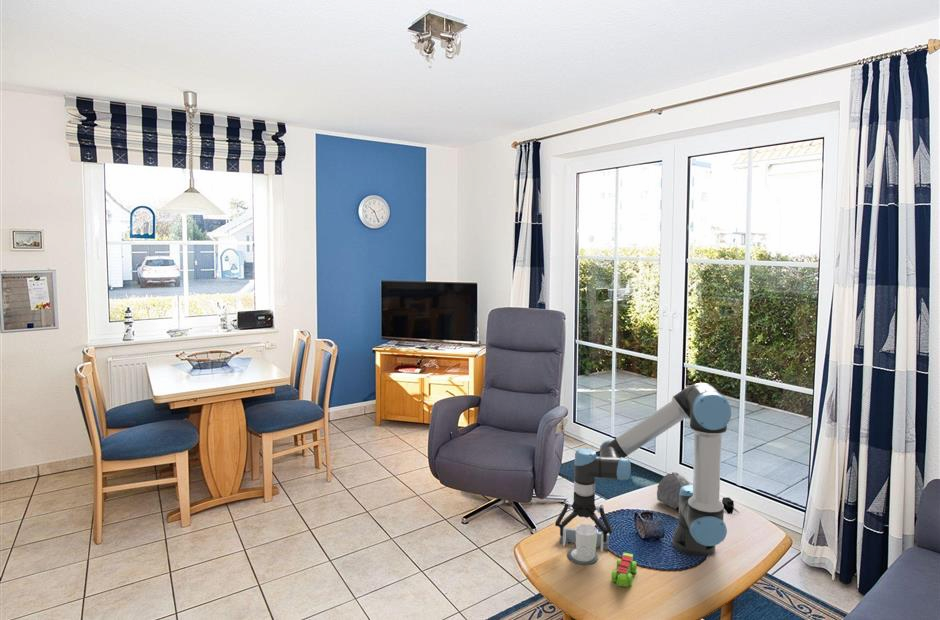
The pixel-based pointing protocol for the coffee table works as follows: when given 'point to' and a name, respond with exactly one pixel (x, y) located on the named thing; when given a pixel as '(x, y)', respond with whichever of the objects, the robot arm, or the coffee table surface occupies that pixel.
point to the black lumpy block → (729, 506)
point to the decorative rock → (671, 489)
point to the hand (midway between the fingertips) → (582, 546)
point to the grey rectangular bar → (572, 538)
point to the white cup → (586, 541)
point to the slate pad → (574, 558)
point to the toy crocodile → (624, 570)
